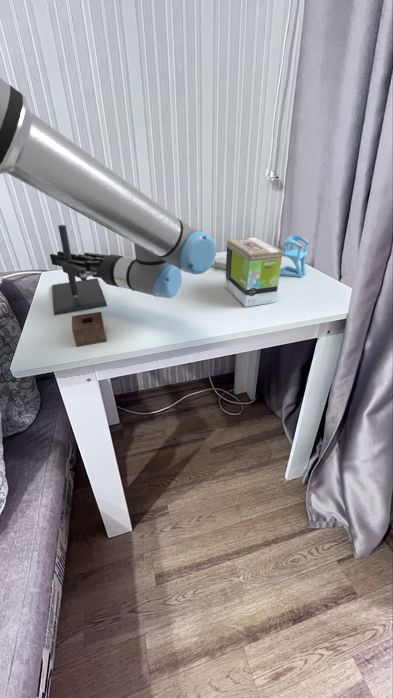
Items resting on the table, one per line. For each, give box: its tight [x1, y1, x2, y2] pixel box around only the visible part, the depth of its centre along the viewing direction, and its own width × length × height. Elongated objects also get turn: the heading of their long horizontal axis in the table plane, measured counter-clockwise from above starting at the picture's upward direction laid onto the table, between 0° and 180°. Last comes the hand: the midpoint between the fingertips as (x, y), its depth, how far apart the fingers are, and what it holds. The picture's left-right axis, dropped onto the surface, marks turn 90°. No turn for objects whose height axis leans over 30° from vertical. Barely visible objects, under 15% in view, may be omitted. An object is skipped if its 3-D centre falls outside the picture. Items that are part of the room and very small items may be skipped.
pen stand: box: [71, 311, 108, 347], centre depth 76 cm, size 7×7×4 cm
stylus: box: [58, 224, 78, 298], centre depth 87 cm, size 2×2×20 cm
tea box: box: [224, 236, 284, 307], centre depth 91 cm, size 15×10×15 cm
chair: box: [279, 235, 310, 278], centre depth 105 cm, size 8×8×12 cm
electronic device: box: [213, 256, 227, 271], centre depth 110 cm, size 5×10×15 cm
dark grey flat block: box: [51, 277, 108, 316], centre depth 96 cm, size 20×14×1 cm
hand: (55, 257), depth 89 cm, fingers closed on stylus, 2 cm apart
